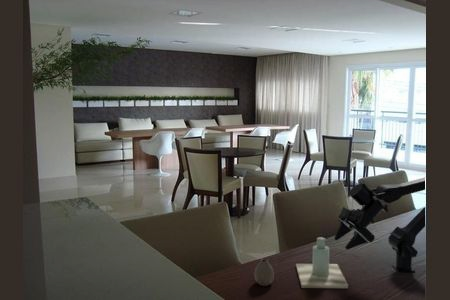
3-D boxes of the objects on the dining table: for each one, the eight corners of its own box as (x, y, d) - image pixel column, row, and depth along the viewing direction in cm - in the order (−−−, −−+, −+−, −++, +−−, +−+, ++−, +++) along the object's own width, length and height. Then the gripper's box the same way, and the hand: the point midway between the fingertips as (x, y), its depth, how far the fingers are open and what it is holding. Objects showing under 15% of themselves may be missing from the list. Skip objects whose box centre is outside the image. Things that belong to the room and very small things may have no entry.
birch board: (348, 288, 140) (348, 285, 139) (301, 287, 141) (301, 284, 140) (337, 266, 157) (337, 264, 157) (296, 266, 158) (296, 263, 158)
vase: (277, 283, 145) (277, 259, 144) (266, 289, 140) (265, 265, 139) (262, 277, 149) (262, 255, 148) (250, 284, 144) (250, 260, 143)
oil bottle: (332, 274, 148) (333, 239, 146) (319, 278, 145) (320, 242, 143) (321, 268, 153) (322, 234, 151) (309, 272, 150) (309, 237, 148)
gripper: (342, 193, 157) (316, 222, 157) (367, 206, 139) (337, 240, 139) (361, 210, 160) (335, 239, 160) (387, 226, 142) (358, 259, 142)
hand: (340, 244), depth 150 cm, fingers open, 9 cm apart
